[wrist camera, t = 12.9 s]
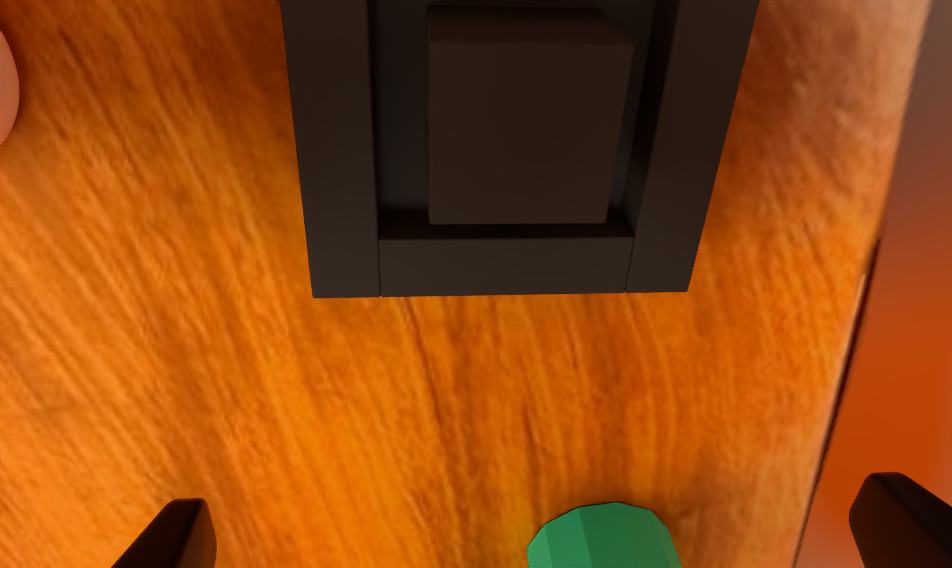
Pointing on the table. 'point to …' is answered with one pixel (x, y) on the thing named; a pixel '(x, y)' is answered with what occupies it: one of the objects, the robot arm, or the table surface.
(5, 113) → the drinking glass
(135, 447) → the table surface
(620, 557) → the candle
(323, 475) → the table surface
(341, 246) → the socket pad
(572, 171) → the black block
